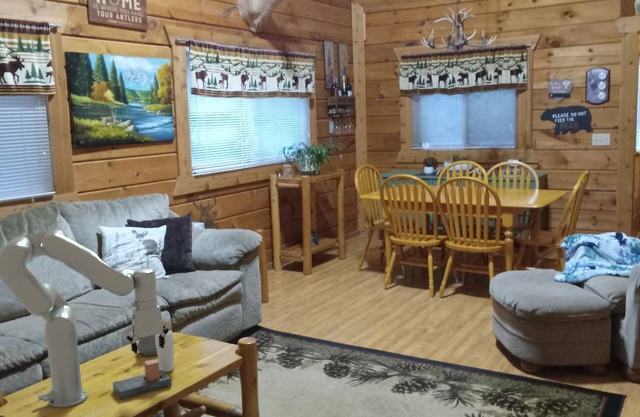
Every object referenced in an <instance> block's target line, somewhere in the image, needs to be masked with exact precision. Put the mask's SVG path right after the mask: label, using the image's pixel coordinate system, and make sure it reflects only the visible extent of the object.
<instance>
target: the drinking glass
mask: <svg viewBox="0 0 640 417" xmlns="http://www.w3.org/2000/svg"><path fill="white" fill-rule="evenodd" d="M159 335H160V334H157V335H155V343H156V349H157V354H156V355H157V359H158V360H157V361H158V362H159V371H160V370H162V371H163V372H164V373H169V372H172V371H173V370H174V369H175V366H174V364H175V363H174V360H175V359H174V350H175V347H174V344H175V343H174V341H175V340H174V332H173V331H172V330H171V329H169V331H168V333H167V334H166V336H165V345H164V348H161V347H160V346H159Z"/></svg>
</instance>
